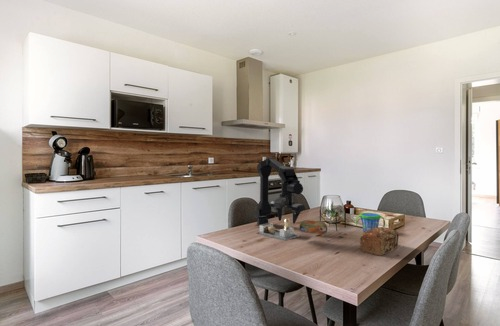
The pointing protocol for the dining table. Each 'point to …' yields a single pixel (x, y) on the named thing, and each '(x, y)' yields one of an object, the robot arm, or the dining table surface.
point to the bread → (379, 241)
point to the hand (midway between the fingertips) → (286, 222)
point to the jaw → (287, 229)
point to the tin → (313, 227)
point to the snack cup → (370, 221)
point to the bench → (275, 235)
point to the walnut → (271, 230)
